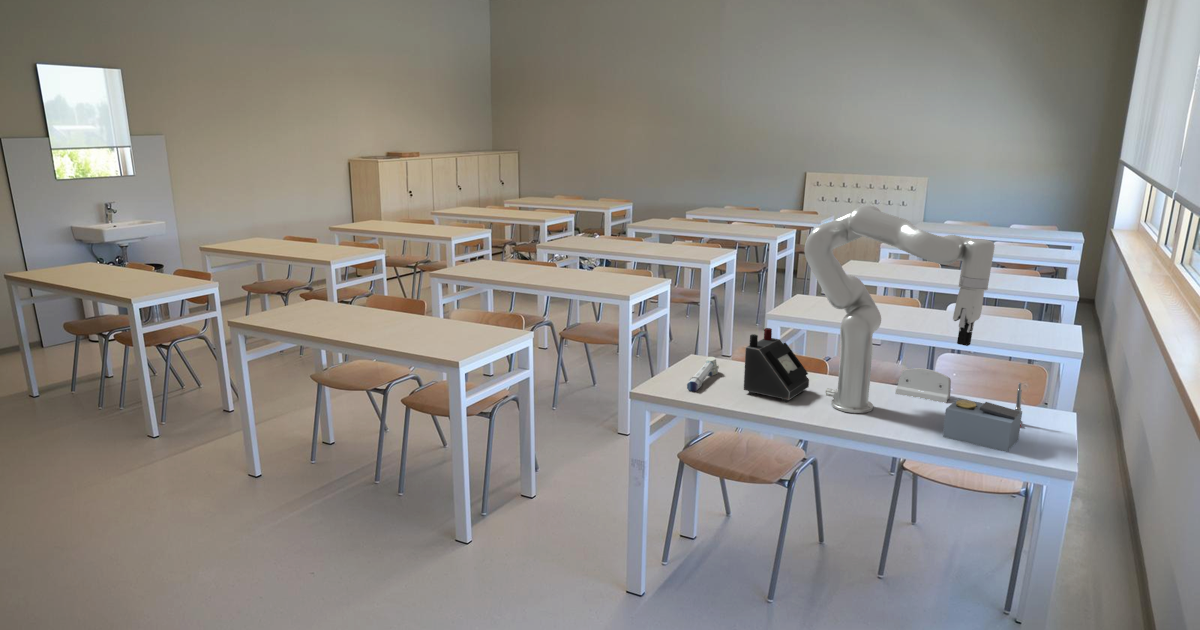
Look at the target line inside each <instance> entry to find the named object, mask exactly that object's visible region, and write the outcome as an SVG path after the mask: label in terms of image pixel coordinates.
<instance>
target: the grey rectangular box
mask: <svg viewBox="0 0 1200 630" xmlns="http://www.w3.org/2000/svg"><path fill="white" fill-rule="evenodd" d="M958 400H966V399H965V398H957V399H956V400H955V401H953V402H952V403H951V404H950V405H949V406H948V407H946V408H945V413H944V414H945V415H944V420H943V421H944V423H943V430H942V431H943V432H942V437H943V438H946V439H951V440H955V441H957V442H958V441H959V442H962V443H963V442H964V443H967V444H972V445H976V446H979V447H984V448H987V449H991V450H992V449H993V450H996V451H1000V452H1005V453H1009V451H1010V450H1011V449H1012V448H1013V446H1014V445H1016V443H1017V442H1018V441H1019V439H1020V431H1021V427H1020V425H1021V426H1022V416H1023V411H1022V410H1021V411H1020V414H1019V415H1018V417H1017V418H1016V419H1015V420H1012V419H1009V418H1005V417H1002V416H999V415H995V414H992V413H988V412H985V411H982V410H979V409H980V407H981V406H982V405H983V404H984V403H985V402H984V403H983V402H979V401H975V400H969V399H968V400H969V401H972V402H975V403H976V408H975V409H972V410H969V409H963V408H960V407H957V406H956V402H957V401H958ZM1017 411H1018V410H1017Z"/></svg>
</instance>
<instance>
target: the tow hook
mask: <svg viewBox="0 0 1200 630" xmlns="http://www.w3.org/2000/svg"><path fill="white" fill-rule="evenodd" d="M1022 384H1023V383H1022V382H1018V387H1017V388H1018V389H1017V390H1016V402H1015V403H1016V404H1015V405H1016V406H1015V408H1014V410H1018V411H1022V393H1023V392H1022V391H1023V389H1022ZM1020 428H1022V424H1021V425H1020Z"/></svg>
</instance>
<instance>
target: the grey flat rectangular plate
mask: <svg viewBox="0 0 1200 630" xmlns="http://www.w3.org/2000/svg"><path fill="white" fill-rule="evenodd" d="M979 410H982V411H985V412H988V413H992V414H995V415H999V416H1002V417H1005V418H1009V419H1012V420H1015V419H1016V418H1017V417H1018V415H1019V414H1020V411H1017V410H1015V409H1014V408H1009V407H1006V406H1002V405H999V404H995V403H992V402H989V401H985V402H984V404H983V405H982V406H981V407H980V409H979Z"/></svg>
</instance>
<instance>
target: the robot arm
mask: <svg viewBox="0 0 1200 630" xmlns="http://www.w3.org/2000/svg"><path fill="white" fill-rule="evenodd" d="M861 238H865V239H866V238H867V239H870V240H873V241H877V242H879V243H883V244H885V245H888V246H891V247H894V248H896V249H898V250H900V251H901V252H902V251H903V252H905V253H907V254H909V255H912V256H914V257H917V258H920V259H923V260H926V261H928V262H932V263H935V264H938V265H945V266H946V265H951V264H954V263H955V262H958V261H959V262H961V268H960V269H961V270H960V275H959V280H958V287H959V291H958V294H957V296H956V297H957V298H956V302H955V305H954V311H953V316H952V320H953V321H954V322H957V321H959V323H958V333H957V334H958V335H957V341H956V344H957V345H960V346H965V347H969V346H970V345H971V342H972V336H973V330H974V325H975V322H977V321H978V320H980V318H981V314H982V310H983V304H984V303H983V302H984V295H985V291H987V290H988V289H989V288H988V287H989V282H990V276H991V271H992V265H993V261H994V260H993V259H994V258H993V257H994V254H995V243H994V242H993V240H992V241H991V240H988V239H984V238H983V239H982V238H969V237H968V238H967V237H964V236H960V235H956V234H948V235H945V236H940V235H936V234H934V233H931V232H929V231H928V232H927V231H925V230H923V229H920V228H918V227H917V226H915V225H914V224H913V223H912V222H911V221H910V220H907V219H906V218H902V217H899V216H895V215H892V214H889V213H885V212H882V211H881V209H879V208H878V207H877V206H875V205H870V204H867V205H863V206H858V207H856V208H854V210H851V212H849V213H847V214H845V215H843V216H841V217H838V218H836V219H834V220H831V221H829V222H826V223H825V222H824V223H822V224H820V225H819V224H818V226H816V227H815V228H813V230H811V232H810V233H809V235H808V236H807V239H805V244H804V255H805V256H804V257H805V259H806V262H807V264H808V267H810V269H811V272H812V273H813V275H814V277H815V279H816V280H817V283H818V285H819V286H820V288H821V289H822V290H821V291H822V292H823V293H824V296H825V297H826V299H827V301H828V303H829V304H830V305H831V306H832V307H833V308H835V309H837V310H844V311H845V313H846V314H845V315H844V317H843V319H842V320H841V323H840V328H839V329H840V330H839V335H840V348H839V349H840V351H839V352H840V353H839V367H838V381H837V389H832V388H828V387H827V388H826V389H825V395H826V397H832V398H833V399H831V407H833V408H834V409H836V410H838V411H842V412H845V413H849V414H851V413H852V414H864V413H869V412H871V411H873V409H874V404H873V403H872V402H871V401H869V398H870V397H869V396H870V386H871V385H870V384H871V376H872V375H871V374H872V360H873V335H874V333H875V332H876V331H877V330H878V329H879V328H880V326H881V323H882V314H881V312H880V310H879V308H878V306H877V305H876V303H875V301H874V300H873V298H872V296H871V294H870V292H869V290H868V289H867V287H866V286H865V284H864V283H863V281H862V280H861V279H860V278H859V277H857V276H855V275H851V274H847V273H846V271H845V269H843V266H842V264H841V263H840V261H839V260H838V259H837V257H836V256H835V255H834V250H835V249H837V248H841V247H842V246H845V245H847V244H849V243H851V242H853V241H856V240H859V239H861Z"/></svg>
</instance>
